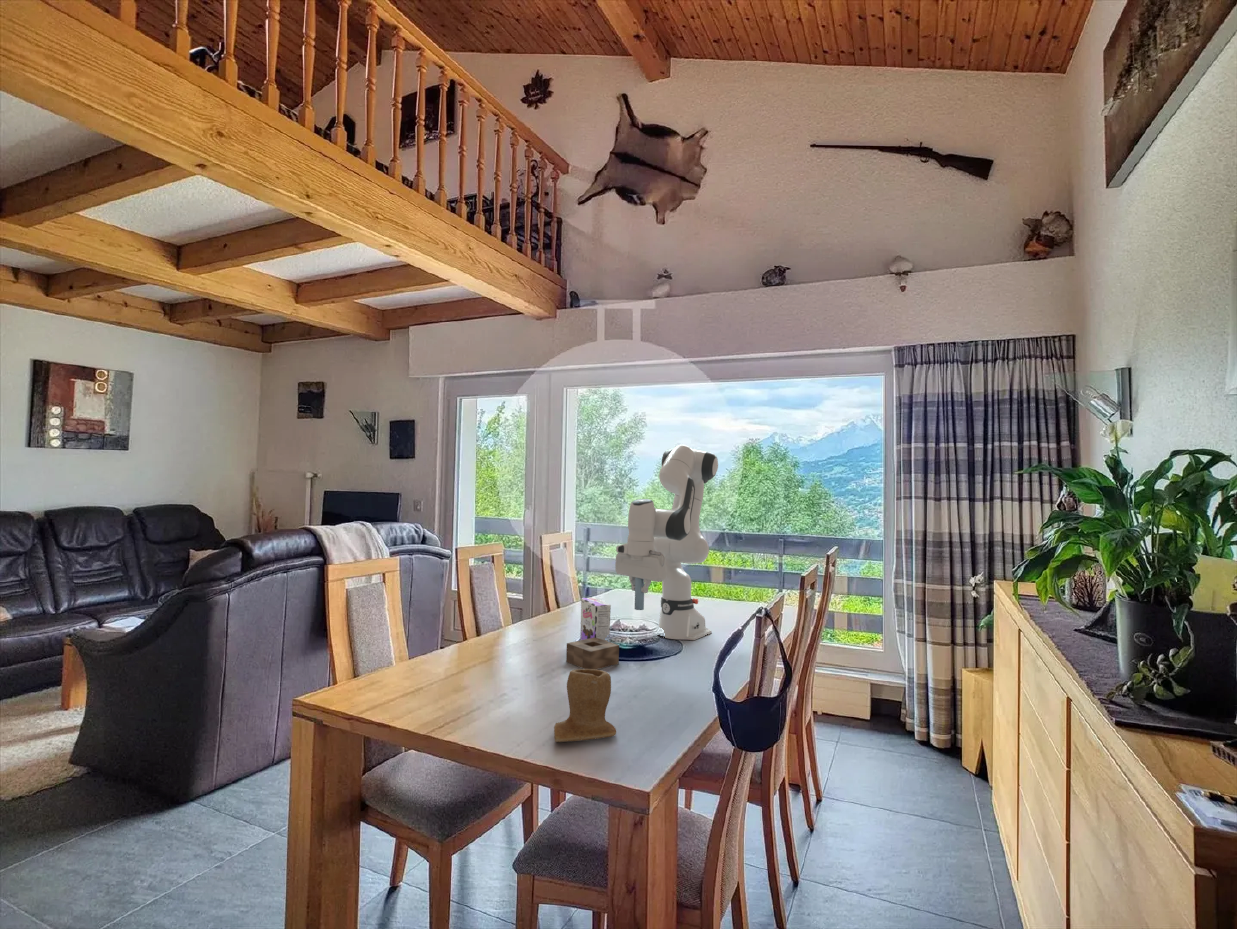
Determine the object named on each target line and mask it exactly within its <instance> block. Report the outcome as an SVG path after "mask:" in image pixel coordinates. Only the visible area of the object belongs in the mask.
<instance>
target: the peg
mask: <svg viewBox="0 0 1237 929" xmlns="http://www.w3.org/2000/svg"><path fill="white" fill-rule="evenodd" d="M644 584H645V583H644V579H641V578H636V577H635V591H634V610H635V611H643V610H644V609H645V593H642V592H641V587H643V586H644Z"/></svg>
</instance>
